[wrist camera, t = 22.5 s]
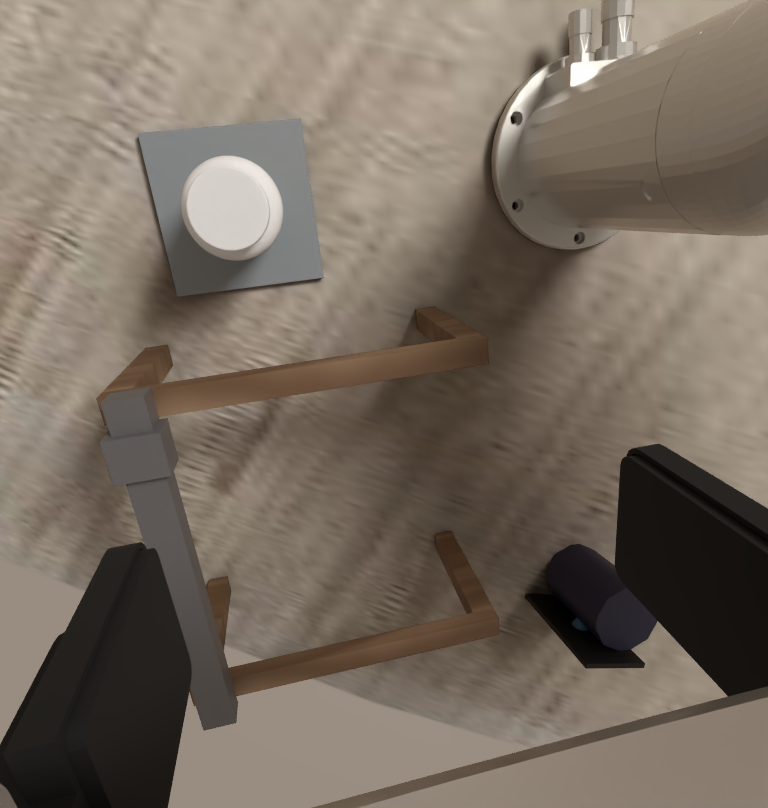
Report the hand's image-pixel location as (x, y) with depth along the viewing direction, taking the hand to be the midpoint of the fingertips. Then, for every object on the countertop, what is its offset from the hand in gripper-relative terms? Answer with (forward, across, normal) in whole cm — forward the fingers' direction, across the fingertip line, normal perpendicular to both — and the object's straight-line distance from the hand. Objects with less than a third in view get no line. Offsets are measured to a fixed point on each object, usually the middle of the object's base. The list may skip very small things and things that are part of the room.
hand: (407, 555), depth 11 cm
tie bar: (+19, +10, +12) cm, 25 cm away
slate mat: (+30, +4, -7) cm, 31 cm away
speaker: (+31, -20, +28) cm, 46 cm away
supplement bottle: (+30, +4, -7) cm, 31 cm away
